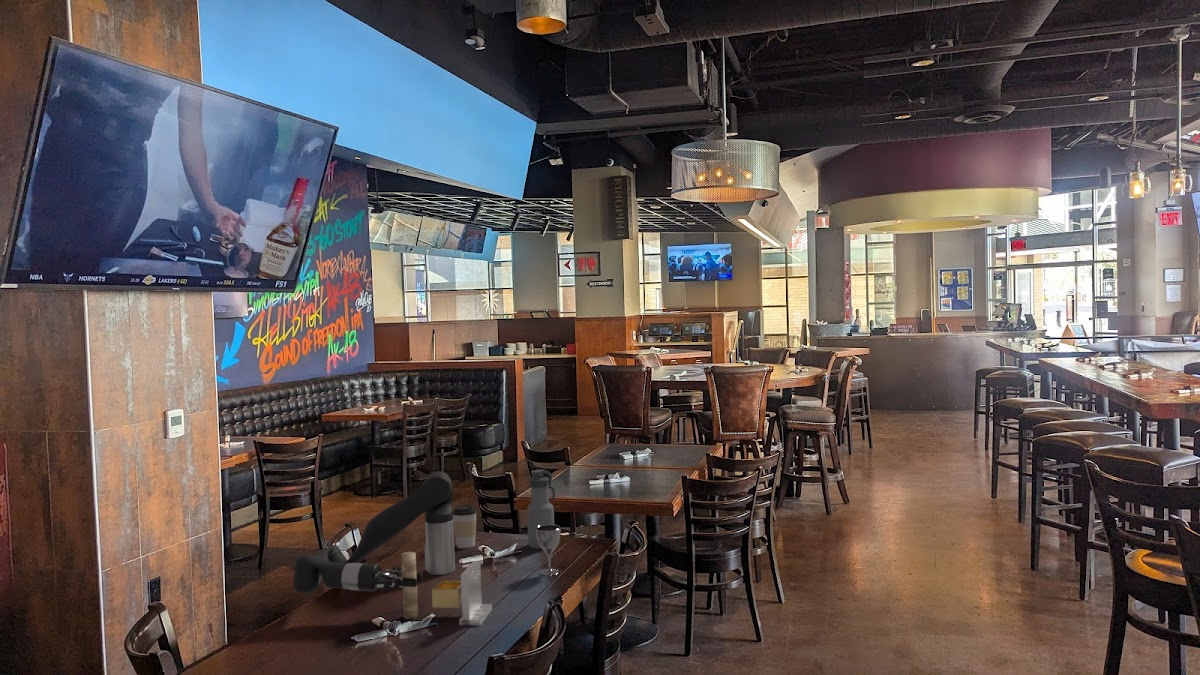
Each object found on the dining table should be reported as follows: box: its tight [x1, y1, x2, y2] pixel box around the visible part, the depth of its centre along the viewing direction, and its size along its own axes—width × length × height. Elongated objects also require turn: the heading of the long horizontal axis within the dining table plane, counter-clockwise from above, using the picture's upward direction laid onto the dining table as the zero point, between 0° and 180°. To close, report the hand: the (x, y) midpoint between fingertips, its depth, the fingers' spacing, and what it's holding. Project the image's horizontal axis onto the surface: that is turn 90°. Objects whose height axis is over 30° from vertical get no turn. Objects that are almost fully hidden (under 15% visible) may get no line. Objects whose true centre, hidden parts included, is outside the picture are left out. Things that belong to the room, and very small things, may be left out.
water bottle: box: [526, 469, 556, 550], centre depth 286 cm, size 10×10×28 cm
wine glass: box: [536, 524, 561, 577], centre depth 255 cm, size 8×8×15 cm
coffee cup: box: [453, 504, 478, 549], centre depth 290 cm, size 9×9×15 cm
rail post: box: [400, 551, 419, 620], centre depth 221 cm, size 4×4×18 cm
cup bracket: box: [431, 560, 493, 626], centre depth 219 cm, size 14×12×14 cm
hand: (419, 580), depth 220 cm, fingers closed on rail post, 4 cm apart
